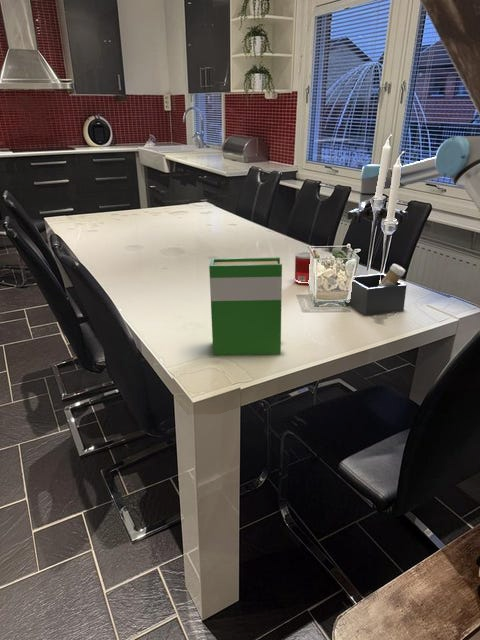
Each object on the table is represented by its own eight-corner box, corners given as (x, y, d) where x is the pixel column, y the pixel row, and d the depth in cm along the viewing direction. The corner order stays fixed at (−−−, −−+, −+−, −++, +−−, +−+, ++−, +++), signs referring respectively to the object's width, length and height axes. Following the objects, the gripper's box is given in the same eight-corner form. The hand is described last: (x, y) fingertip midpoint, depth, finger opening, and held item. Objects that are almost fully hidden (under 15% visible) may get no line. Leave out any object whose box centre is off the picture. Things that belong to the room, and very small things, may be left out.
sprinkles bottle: (370, 295, 155) (393, 261, 149) (382, 302, 155) (405, 269, 149) (369, 299, 151) (393, 264, 145) (381, 307, 151) (406, 272, 145)
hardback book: (278, 342, 129) (279, 257, 120) (280, 354, 122) (281, 264, 113) (214, 343, 129) (211, 258, 120) (213, 355, 122) (209, 266, 113)
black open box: (403, 311, 149) (406, 284, 146) (365, 315, 146) (367, 289, 143) (380, 298, 162) (383, 273, 158) (345, 302, 158) (346, 277, 155)
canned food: (318, 284, 177) (319, 256, 173) (298, 286, 176) (299, 257, 172) (311, 278, 184) (312, 251, 180) (292, 280, 183) (292, 253, 179)
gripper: (405, 220, 175) (417, 230, 155) (337, 220, 178) (341, 230, 158) (407, 199, 172) (420, 207, 152) (338, 199, 175) (342, 207, 156)
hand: (380, 219), depth 155 cm, fingers open, 13 cm apart
